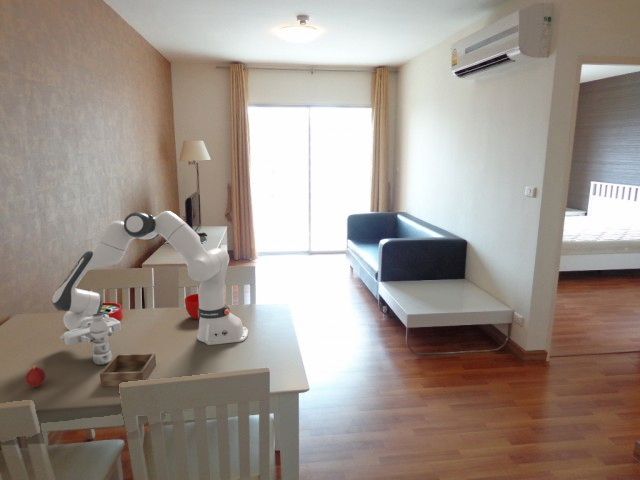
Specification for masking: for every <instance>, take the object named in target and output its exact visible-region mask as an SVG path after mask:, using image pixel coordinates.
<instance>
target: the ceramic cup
mask: <svg viewBox="0 0 640 480" xmlns="http://www.w3.org/2000/svg"><path fill="white" fill-rule="evenodd" d="M184 305H185V310H186V312H187V313H188V315H189V316H190V317H191V318H192V319H193V320H199V317H198V307H199V298H198V293H194V294H190V295H187V296H186V297H185V298H184Z"/></svg>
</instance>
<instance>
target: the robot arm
mask: <svg viewBox="0 0 640 480" xmlns="http://www.w3.org/2000/svg"><path fill="white" fill-rule="evenodd" d="M159 235H160V236H161V237H163V238H164V239H165V240H166V241H167V243H169V244H170V245H171V246H172V247H173V248H174V249H175V250H176V252H178V253H179V254H180V256H181V257H182V260H183V261H184V262H185V264H186V266H187V270H186V271H187V274H188V276H189V277H190V278H191V280H193V281H195V282H200V284H199V287H198V289H197V290H198V291H197V294H198V298H199V307H198V317H199V319H198V321H199V322H198V331H197V335H196V339H197V340H198V341H199V342H201V343H205V344H206V345H208V346H212V345H214V346H215V345H223V344H229V343H231V344H232V343H239V342H243V341H245V340H246V339H247V338H248V335H249V329H248V328H247V327H246V326H244V325H243V322H242V320H241V318H239V317H238V316H236V315H234V313H232V312H230V311H231V310H230V305H229V304H228V305H227V304H225V283H226V277H227V270H228V265H229V263H230V255H229V253H228V252H227V250H226V249H223V248H222V247H221V248H220V247H217V248H215V247H213V248H210V249H209V250H206V249H205V247H204V246H203V244H202V242H201V237H200V235H199V234H198V233H197V232H196V231H195V230H194V229H193V228H192V227H191V226H190V225H189V224H188V223H187V222H186V221H184V220H183V219H182V218H181V217H179V216H178V215H177V214H176V213H174V212H172V211H170V210H165V211H162V212H160V213H159V214H158V215H156V216H153V215H152V214H148V213H144V212H140V211H139V212H138V211H137V212H136V211H135V212H132V213H129V214H128V215H127V216H126V217H125V218H124V221H122V220H114V221H112V222H110V224H109V225H108V226H107V228H106V229H105V231H104V232H103V234H102V236H101V237H100V239H99V242H98V244H97V245H96V246H95V247H94V248H92V249H91V250H89V251H86V252H84V253H83V254H82V255H81V257H80V258H79V259H78V261H77V262H76V264H75V265H74V266H73V268H72V269H71V271H70V272H69V273H68V275H67V277H66V278H65V279H64V281H63V282H62V283H61V285H60V286H58V288H56V290H55V291H54V293H53V295H52V297H51V304H52V305H53V307H54V308H55V309H56V310H57V311H58V312H59V311H60V312H66V313H64V315H63V319H62V320H63V324H64V326H65V328H66V329H67V331H65V332H64V333H63V334H61V335H59V338H60V339H61V340H64V343H65V344H66V346H67V347H68V346H69V347H73V346H75V345H78V344H82V343H88V344H91V343H93V338H92V337H91V333H90V326H91V324H92V323H93V320H92V319H93V317H92V315H94V314H97V313H100V311H101V309H102V306H103V303H104V302H103V298H102V296H101V294H100V293H99V292H96V291H95V292H94V291H90V290H86V289H81V288H77V287H78V285H79V284H80V282H81V280H83V277H85V274H86V273H87V272H88V271H90V270H92V269H95V268H102V267H103V268H105V267H111V266H114V265H117V264H118V263H120V262H122V260H123V258H124V256H125V254H126V252H127V250H128V248H129V246H130V244H131V242H132V241H133V240H135V239H136V240H144V241H150V240H154V239H156V238H157V237H159ZM103 317H104V319H103V320H104V321H105V322H106V323H107V325H108V338H110V337H113V336H114V334H113V333H116V332H119V331H121V329H122V324H121V321H118V320H116V319H114V318H109V316H108V315H103Z"/></svg>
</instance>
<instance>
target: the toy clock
mask: <svg viewBox="0 0 640 480" xmlns="http://www.w3.org/2000/svg"><path fill="white" fill-rule="evenodd" d="M122 310H123V307H122V305H121V304H120V303H118V302H117V303H116V302H109V301H108V302H103V306H102V309H101V311H100V313H102V314H103V315H108V316H109V318H114V319H116V320H118V321H120V322H121V321H122V320H123V311H122Z"/></svg>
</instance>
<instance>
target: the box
mask: <svg viewBox="0 0 640 480" xmlns="http://www.w3.org/2000/svg"><path fill="white" fill-rule="evenodd" d="M156 358H157V357H156V353H155V352H154V353H153V352H152V353H119V354H115V355H114V357H112V359H111V361H110V362H109V363H107V365H106V366H105V367H104V368H103V370H102V371H101V372H100V373H99V378H100V387H101V386H113V387H120V386H119V384H120V383H122V382H128V381H138V380H146V379H147V380H148V379H149V378H150V377H151V374H152V372H153V371H154V369H155V368H156V366H157V360H156Z"/></svg>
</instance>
